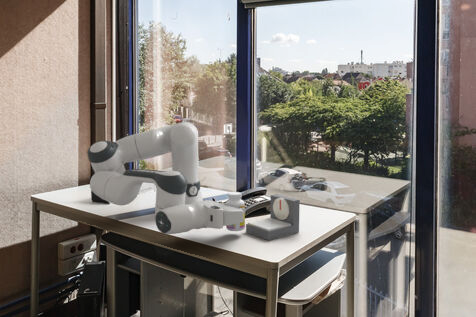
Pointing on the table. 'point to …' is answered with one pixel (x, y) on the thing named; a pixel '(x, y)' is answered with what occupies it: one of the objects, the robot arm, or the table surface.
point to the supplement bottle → (236, 203)
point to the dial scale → (277, 219)
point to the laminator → (144, 188)
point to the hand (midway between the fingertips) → (237, 207)
